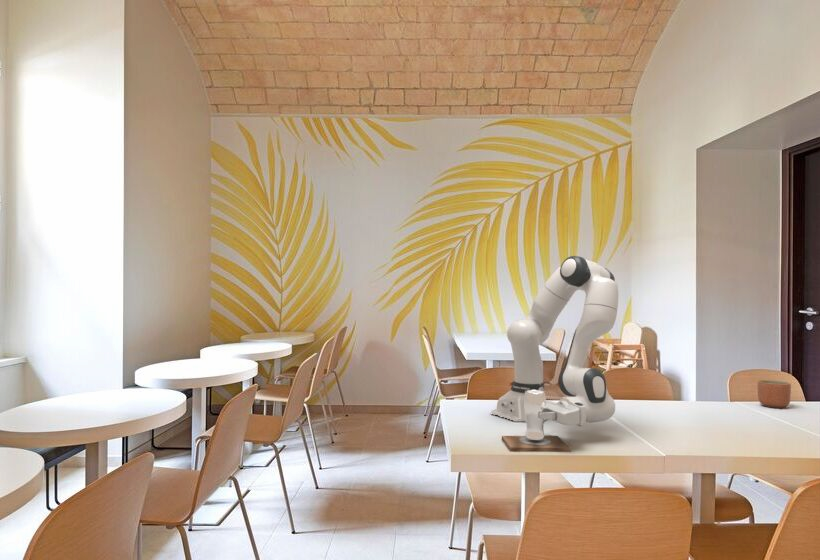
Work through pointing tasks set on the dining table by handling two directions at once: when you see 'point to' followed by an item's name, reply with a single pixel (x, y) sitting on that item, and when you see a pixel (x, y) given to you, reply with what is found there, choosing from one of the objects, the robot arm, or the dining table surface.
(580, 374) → the robot arm
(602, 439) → the dining table surface
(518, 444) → the walnut board
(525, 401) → the beer glass
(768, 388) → the planter
